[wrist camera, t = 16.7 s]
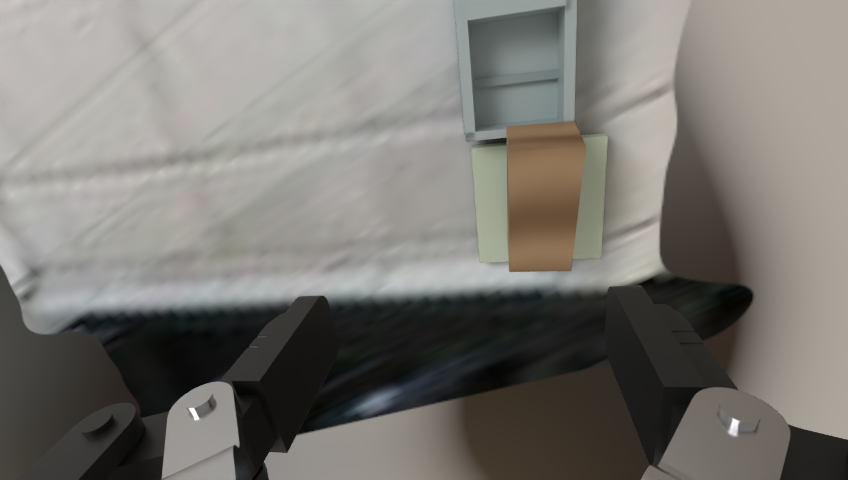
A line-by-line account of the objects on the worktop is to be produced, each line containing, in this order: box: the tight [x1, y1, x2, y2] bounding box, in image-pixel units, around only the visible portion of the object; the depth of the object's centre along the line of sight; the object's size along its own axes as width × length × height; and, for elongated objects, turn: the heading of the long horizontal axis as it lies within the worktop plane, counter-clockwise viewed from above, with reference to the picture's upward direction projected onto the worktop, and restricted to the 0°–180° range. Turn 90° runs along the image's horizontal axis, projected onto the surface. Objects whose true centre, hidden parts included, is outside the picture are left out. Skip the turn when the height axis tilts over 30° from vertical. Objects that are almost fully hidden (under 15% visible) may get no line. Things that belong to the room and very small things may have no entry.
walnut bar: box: [507, 121, 586, 272], centre depth 29 cm, size 10×4×4 cm, turn 6°
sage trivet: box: [471, 133, 608, 263], centre depth 33 cm, size 10×10×1 cm
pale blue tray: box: [454, 0, 577, 141], centre depth 26 cm, size 14×8×6 cm, turn 7°
